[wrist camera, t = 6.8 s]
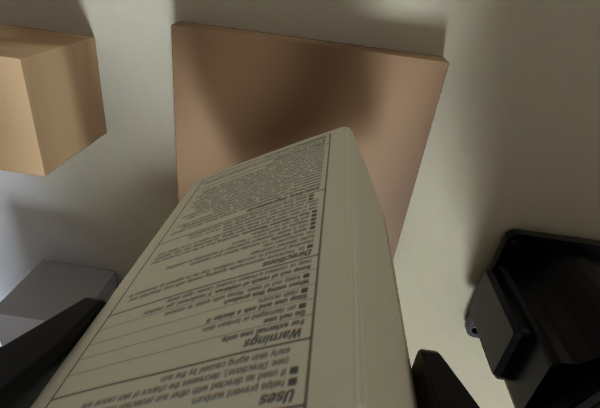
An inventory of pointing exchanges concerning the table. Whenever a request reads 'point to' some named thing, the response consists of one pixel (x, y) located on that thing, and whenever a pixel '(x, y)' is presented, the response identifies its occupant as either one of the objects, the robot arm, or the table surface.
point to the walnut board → (301, 104)
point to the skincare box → (255, 297)
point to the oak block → (47, 98)
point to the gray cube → (51, 295)
